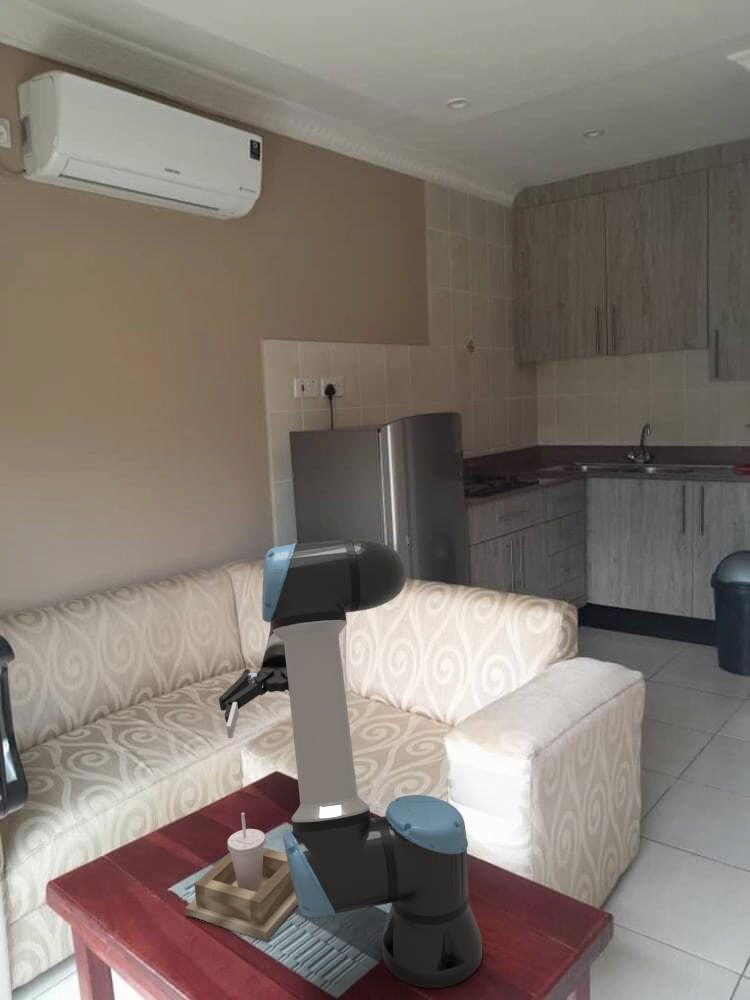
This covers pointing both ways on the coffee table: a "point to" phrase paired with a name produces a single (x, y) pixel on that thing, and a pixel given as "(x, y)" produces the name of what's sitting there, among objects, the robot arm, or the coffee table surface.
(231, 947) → the coffee table surface
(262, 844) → the smoothie
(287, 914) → the wooden box
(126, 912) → the coffee table surface
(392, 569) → the robot arm
